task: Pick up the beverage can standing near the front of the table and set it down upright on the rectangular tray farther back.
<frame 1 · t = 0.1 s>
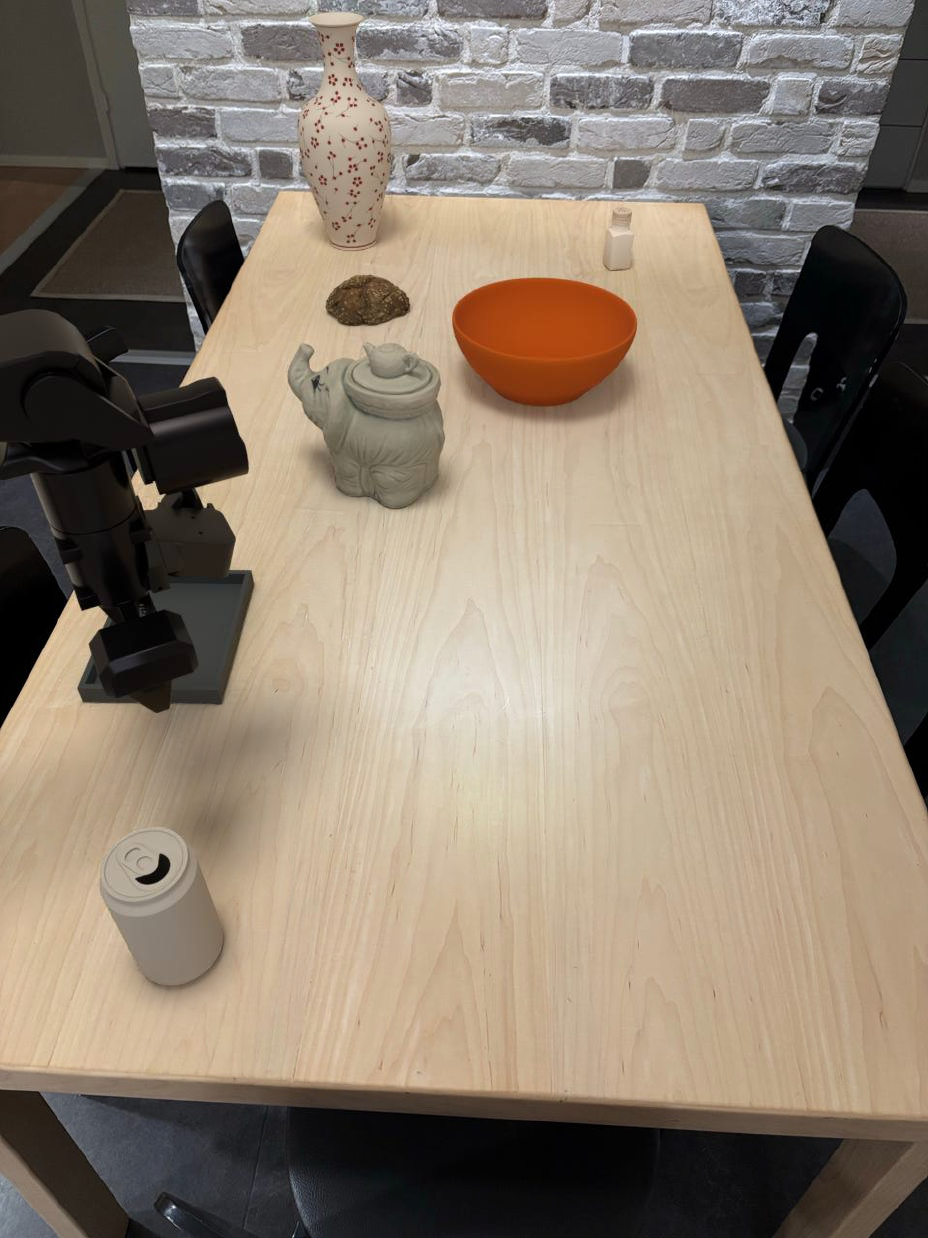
hand: (147, 670, 71), 13 cm above the table, tool pointing down, fingers open, 9 cm apart
rectangular tray: (174, 639, 92), on the table
bread roll: (365, 310, 148), on the table
bowl: (539, 383, 131), on the table
pepper shaker: (615, 267, 161), on the table
vase: (353, 242, 168), on the table
beverage can: (182, 949, 69), on the table
teapot: (371, 479, 113), on the table
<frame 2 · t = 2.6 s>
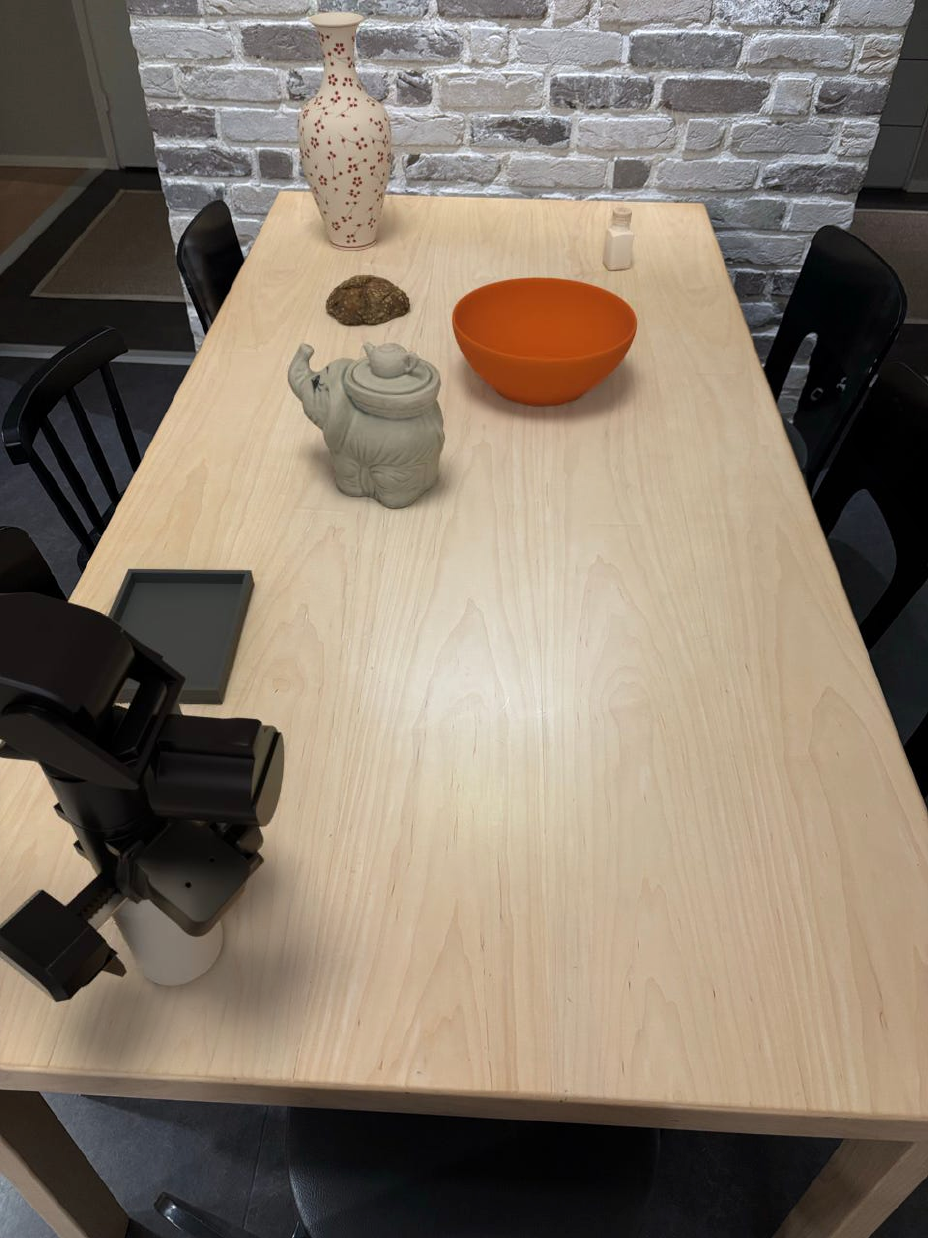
hand: (169, 919, 65), 4 cm above the table, tool pointing down
beverage can: (182, 950, 69), on the table, touching gripper
everything else where it was.
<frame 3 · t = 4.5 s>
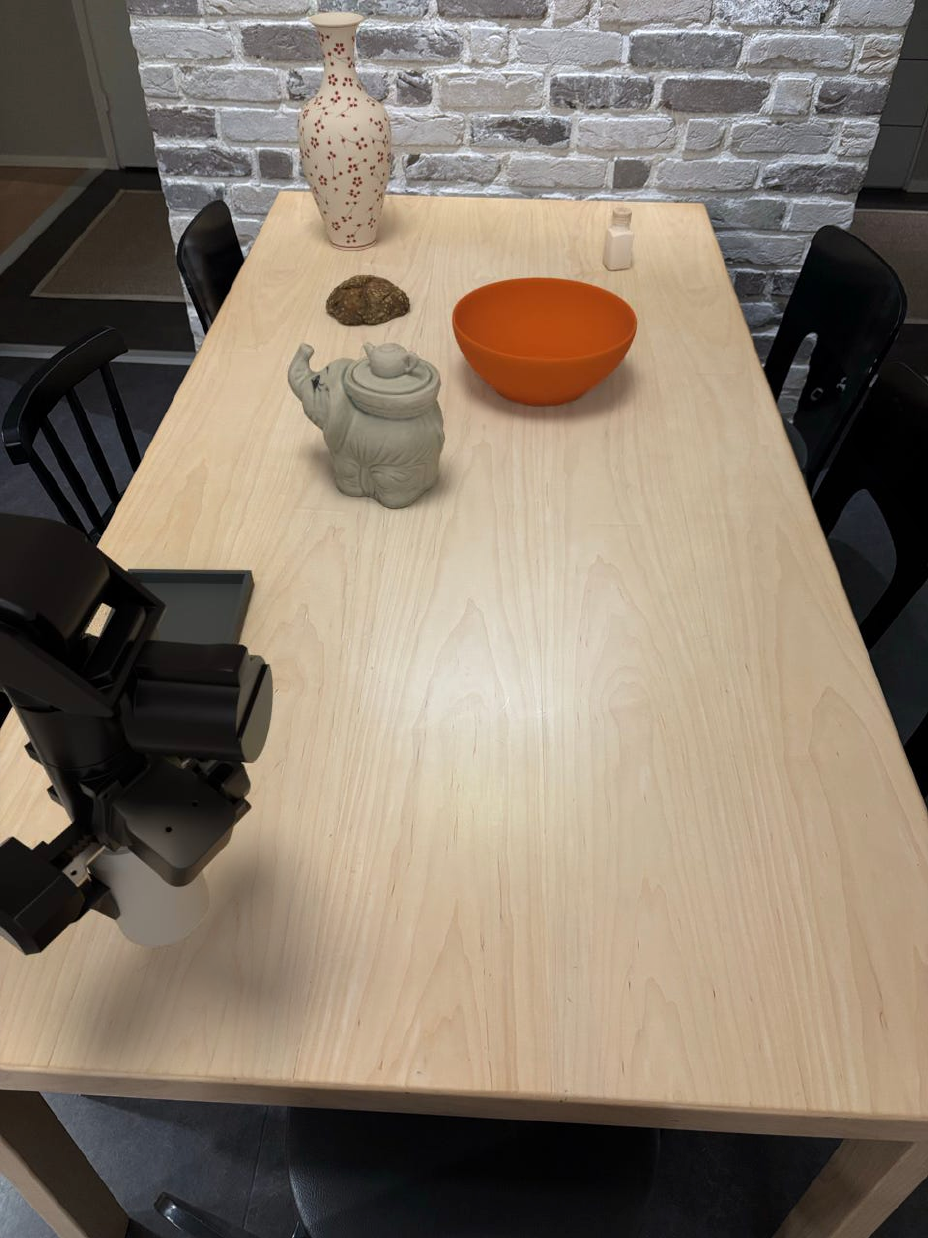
hand: (151, 876, 62), 10 cm above the table, tool pointing down, fingers closed on beverage can, 6 cm apart
beverage can: (166, 911, 65), point 5 cm above the table, touching gripper
everything else where it was.
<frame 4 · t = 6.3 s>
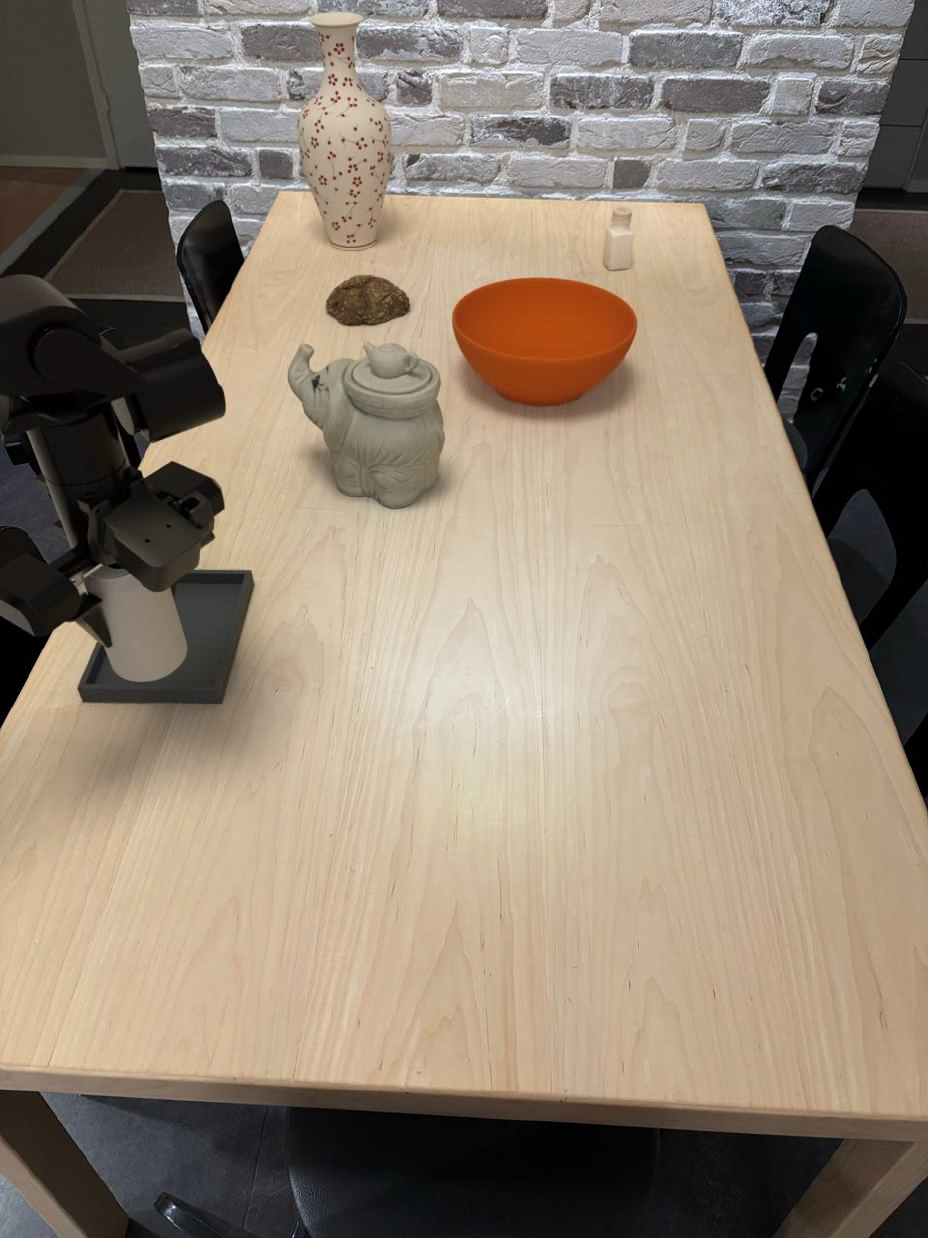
hand: (138, 621, 75), 13 cm above the table, tool pointing down, fingers closed on beverage can, 6 cm apart
beverage can: (151, 661, 79), point 8 cm above the table, touching gripper
everything else where it was.
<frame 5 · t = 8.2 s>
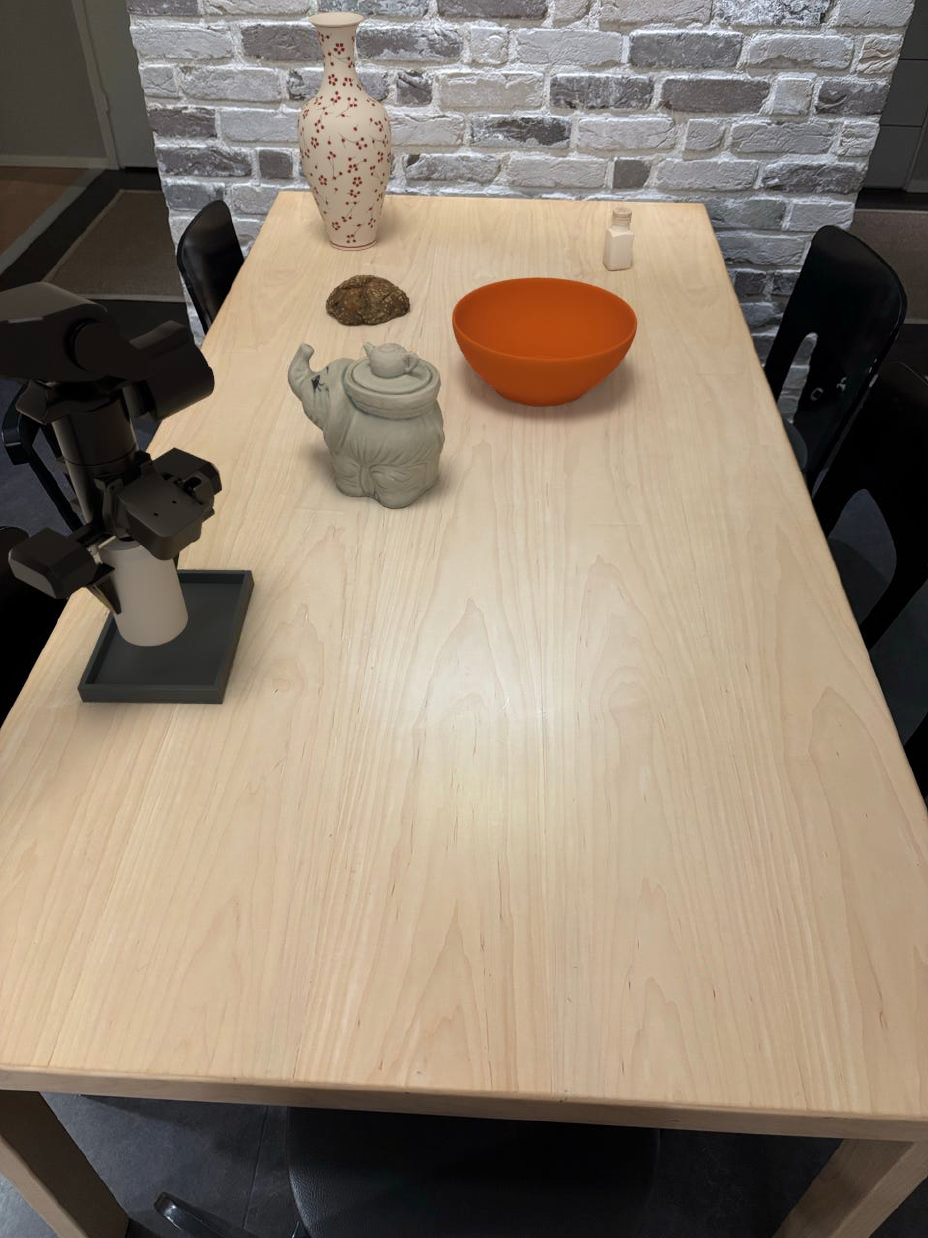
hand: (144, 591, 84), 9 cm above the table, tool pointing down, fingers closed on beverage can, 6 cm apart
beverage can: (155, 629, 87), point 4 cm above the table, touching gripper
everything else where it was.
when the fingers open (5 cm above the table, at t = 9.7 s): beverage can stays where it is, resting on rectangular tray.
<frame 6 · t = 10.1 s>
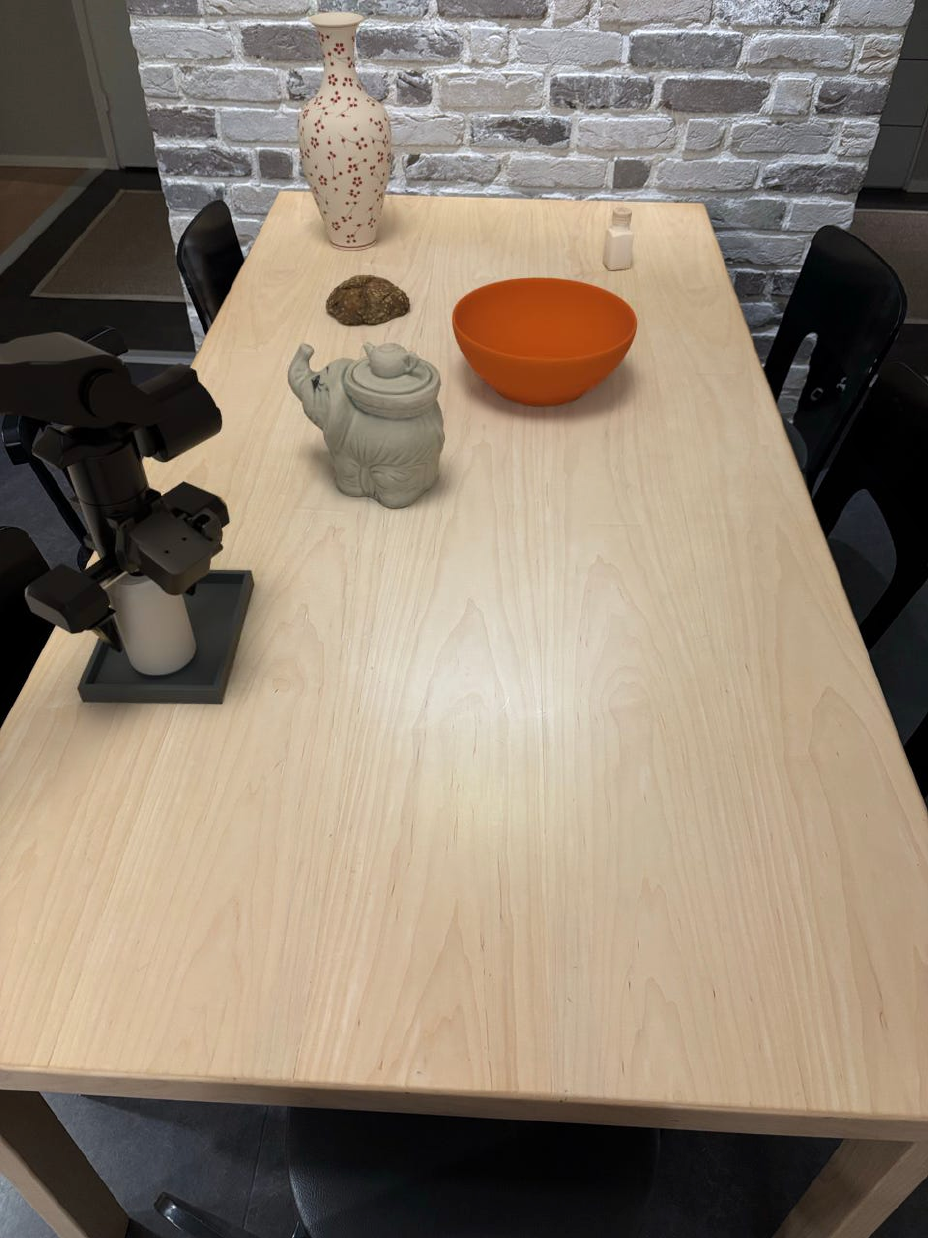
hand: (154, 621, 87), 5 cm above the table, tool pointing down, fingers open, 9 cm apart
beverage can: (165, 658, 90), resting on rectangular tray
everything else where it was.
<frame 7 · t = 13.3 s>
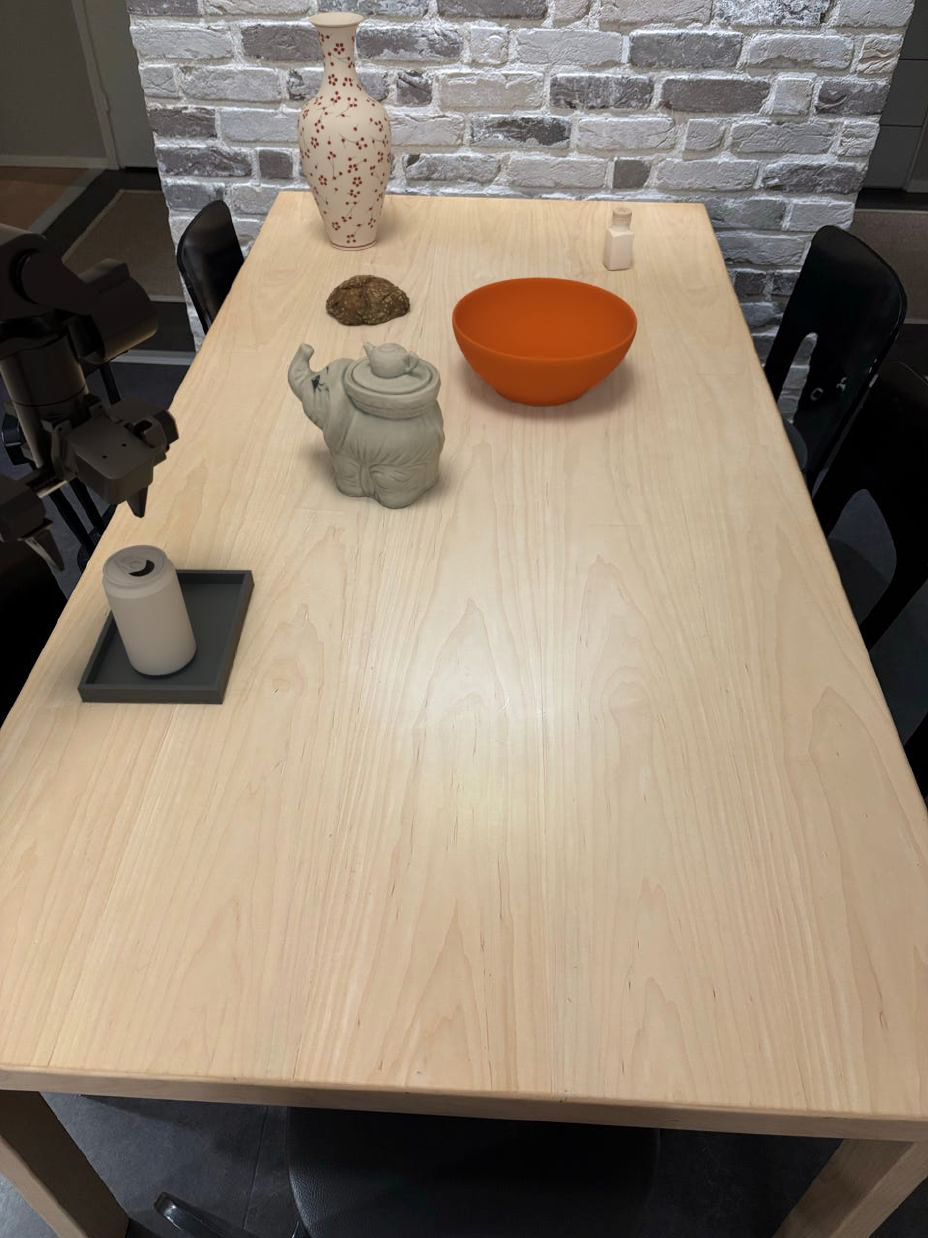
hand: (101, 541, 83), 13 cm above the table, tool pointing down, fingers open, 9 cm apart
nothing on the table moved.
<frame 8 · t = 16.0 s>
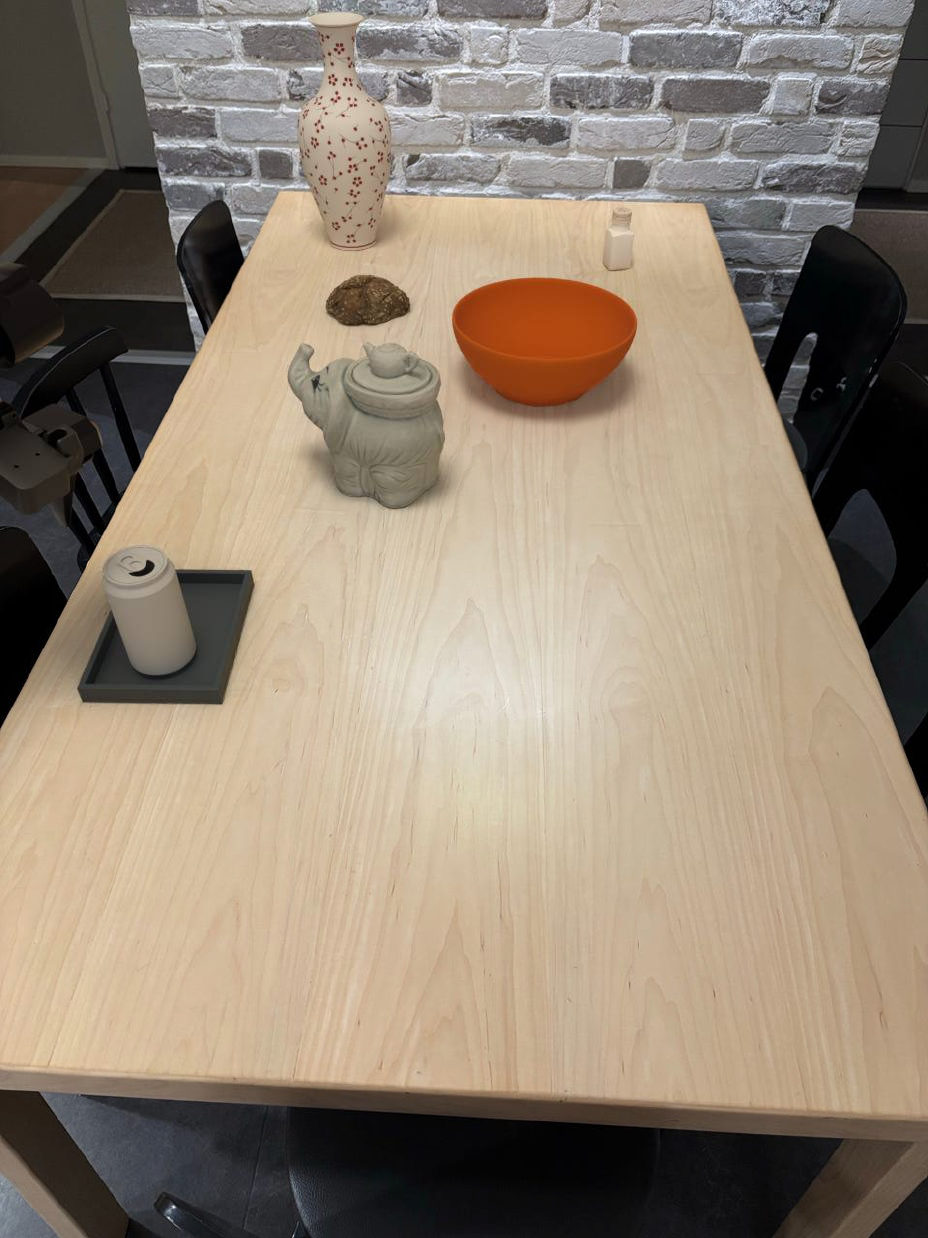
hand: (24, 551, 82), 13 cm above the table, tool pointing down, fingers open, 9 cm apart
nothing on the table moved.
at the end: beverage can inside the target area in the rectangular tray (3.0 cm from its centre), point 0.3 cm above the rectangular tray's base; beverage can tilted 0°; the gripper is holding nothing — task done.
